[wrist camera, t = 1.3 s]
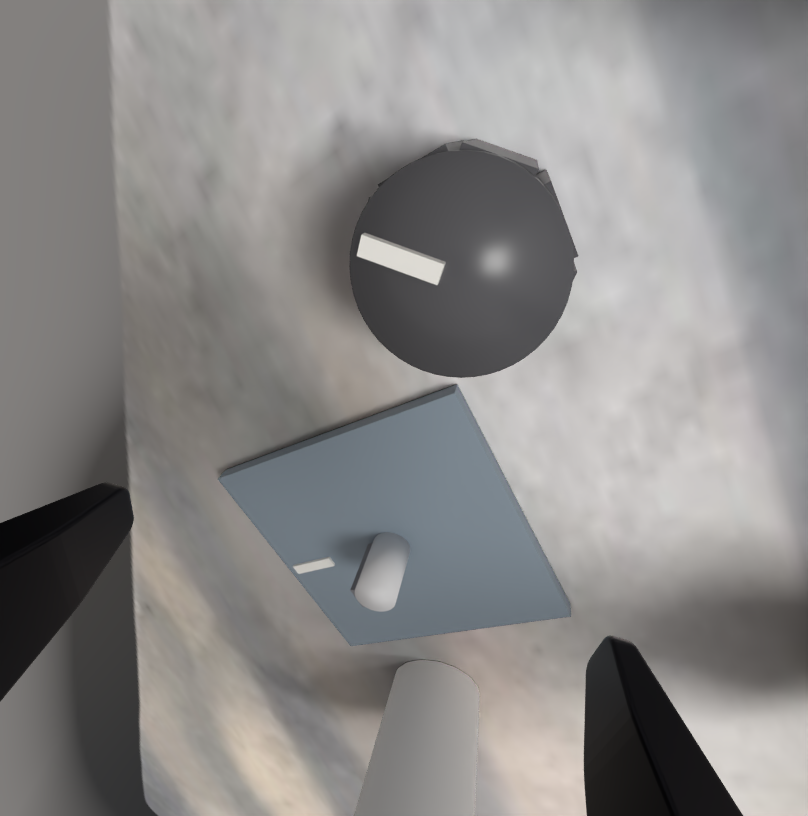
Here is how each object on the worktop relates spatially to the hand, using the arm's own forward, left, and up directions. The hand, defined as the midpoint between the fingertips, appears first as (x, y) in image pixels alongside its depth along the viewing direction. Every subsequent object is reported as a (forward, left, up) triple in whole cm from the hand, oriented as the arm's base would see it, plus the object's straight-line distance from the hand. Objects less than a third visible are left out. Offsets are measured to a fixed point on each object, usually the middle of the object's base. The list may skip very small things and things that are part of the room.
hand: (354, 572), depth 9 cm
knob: (-2, -3, -13) cm, 13 cm away
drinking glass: (+12, +22, -13) cm, 28 cm away
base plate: (+8, +9, -13) cm, 17 cm away
